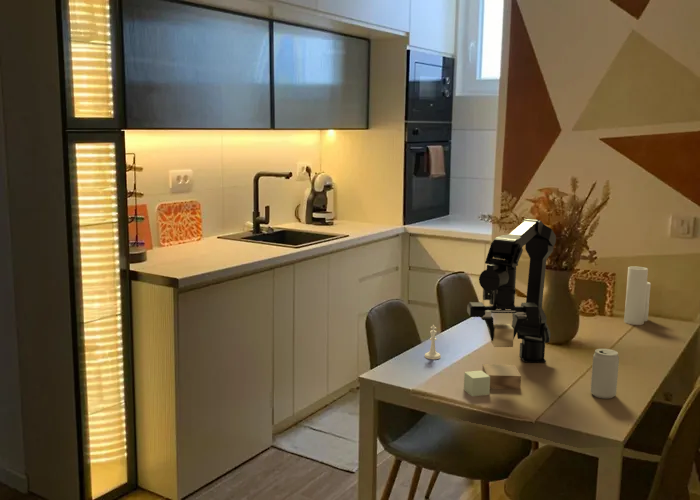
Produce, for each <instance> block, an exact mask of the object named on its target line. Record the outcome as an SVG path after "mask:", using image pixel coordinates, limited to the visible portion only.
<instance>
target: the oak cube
mask: <svg viewBox="0 0 700 500" xmlns="http://www.w3.org/2000/svg"><path fill="white" fill-rule="evenodd" d="M493 326H494V338H493V341H492V340H491V339H490V343H491V344H492V345H493V347H494V348H514V339H513V337H514V329H513V327H512V324H511V323H493ZM514 338H515V337H514Z"/></svg>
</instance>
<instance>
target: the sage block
mask: <svg viewBox="0 0 700 500" xmlns="http://www.w3.org/2000/svg"><path fill="white" fill-rule="evenodd" d="M463 375H464V376H463V378H464V379H463V390H464V391H465V392H466V393H467V394H468V395H469V396H471V397H478V396H479V397H480V396H489V395H490V389H491V388H490V376H489V375H487V374H486V373H484V372H483V371H482V369H481V370H473V371H464V374H463Z"/></svg>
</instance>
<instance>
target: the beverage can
mask: <svg viewBox="0 0 700 500" xmlns="http://www.w3.org/2000/svg"><path fill="white" fill-rule="evenodd" d="M619 363H620V356H619V352H618V351H617V350H615V349H611V348H610V349H609V348H596V349H595V350H594V354H593V355H592V365H591V366H592V367H591V377H590V379H591V381H590V393H591V394H592V395H593V396H594V397H596V398H598V399H606V400H607V399H612V398H614V397H615V396H616V395H617V390H618V389H617V388H618V379H619V378H618V376H619Z"/></svg>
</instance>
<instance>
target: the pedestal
mask: <svg viewBox="0 0 700 500" xmlns="http://www.w3.org/2000/svg"><path fill="white" fill-rule="evenodd" d="M481 370H482V371H483V372H484V373H486V374H487V375H489V376H490V389H500V390H501V389H503V390H505V389H506V390H521V384H522V375H521V373H520V372H519V370H518V368H517V366H516V364H496V363H495V364H490V363H489V364H488V363H487V364H486V363H484V364H482V369H481Z"/></svg>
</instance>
